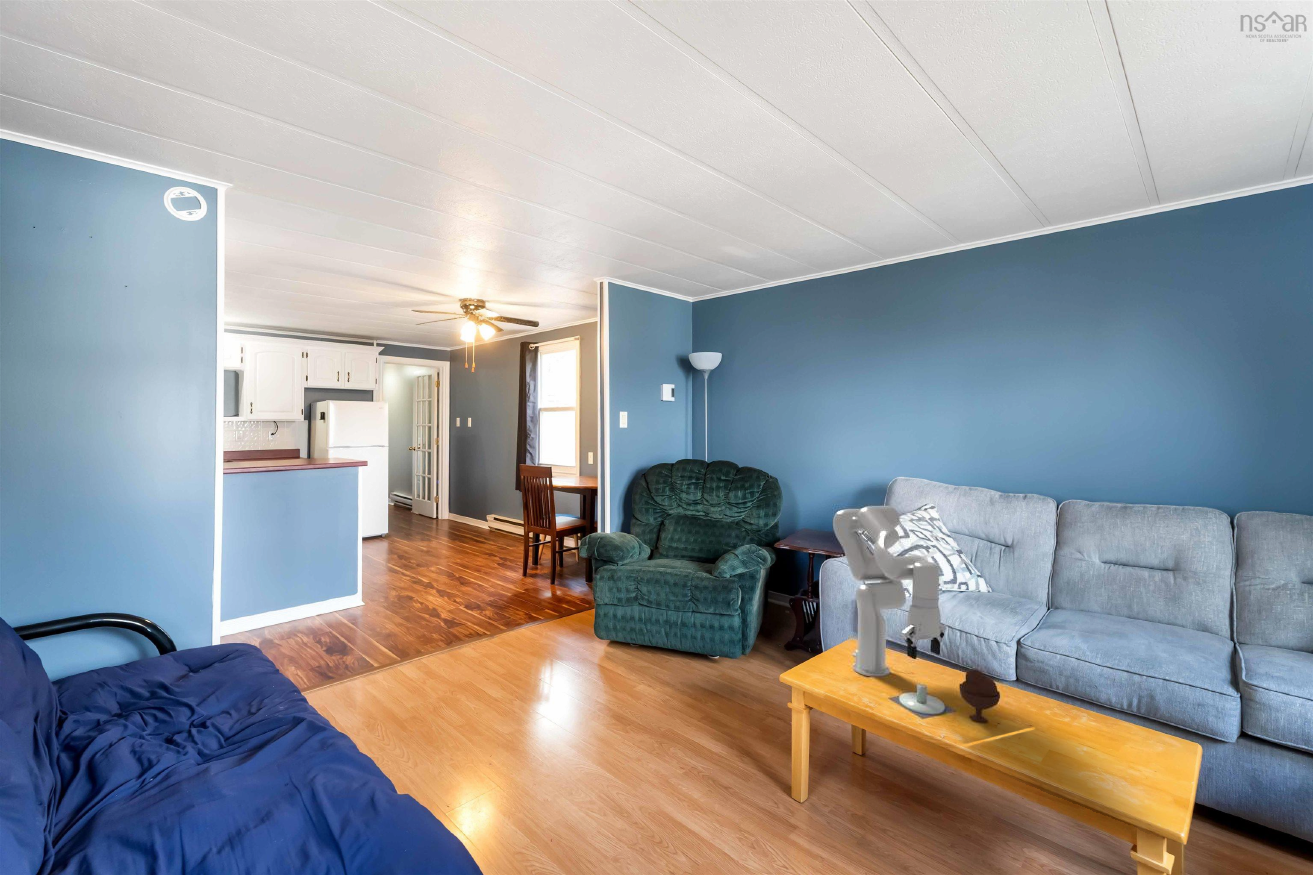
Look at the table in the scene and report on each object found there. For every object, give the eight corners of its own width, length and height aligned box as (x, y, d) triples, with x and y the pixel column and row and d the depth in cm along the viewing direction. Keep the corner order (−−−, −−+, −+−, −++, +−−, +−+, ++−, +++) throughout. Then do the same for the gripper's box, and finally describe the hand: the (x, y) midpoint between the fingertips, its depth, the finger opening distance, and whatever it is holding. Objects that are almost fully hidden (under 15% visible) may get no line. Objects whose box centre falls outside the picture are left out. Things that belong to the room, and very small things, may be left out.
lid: (890, 698, 186) (890, 680, 186) (921, 692, 191) (921, 674, 191) (922, 717, 174) (922, 698, 174) (954, 710, 179) (954, 691, 179)
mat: (887, 699, 186) (887, 697, 186) (921, 693, 192) (921, 691, 192) (922, 720, 173) (922, 718, 173) (956, 712, 179) (956, 710, 178)
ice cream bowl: (958, 724, 171) (959, 674, 171) (958, 708, 181) (959, 661, 181) (1000, 734, 166) (1001, 682, 166) (997, 717, 176) (999, 668, 176)
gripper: (936, 595, 188) (934, 647, 189) (894, 600, 182) (893, 654, 182) (955, 602, 181) (953, 656, 182) (913, 608, 175) (911, 663, 175)
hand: (923, 655), depth 182 cm, fingers open, 9 cm apart
